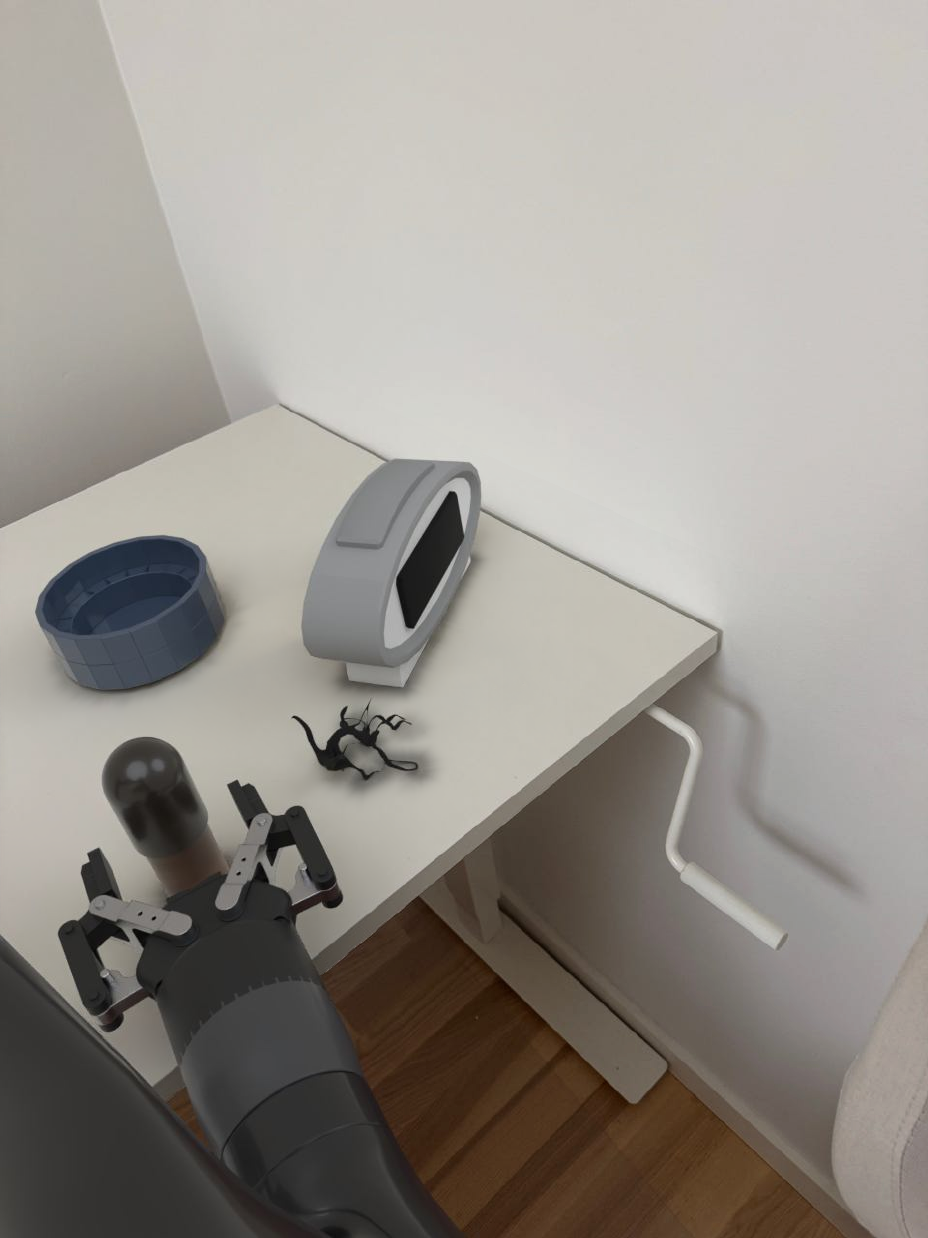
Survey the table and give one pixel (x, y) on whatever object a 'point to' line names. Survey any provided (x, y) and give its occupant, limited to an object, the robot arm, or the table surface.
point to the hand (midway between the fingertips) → (168, 824)
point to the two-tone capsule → (162, 812)
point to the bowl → (131, 612)
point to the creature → (332, 752)
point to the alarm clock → (391, 567)
